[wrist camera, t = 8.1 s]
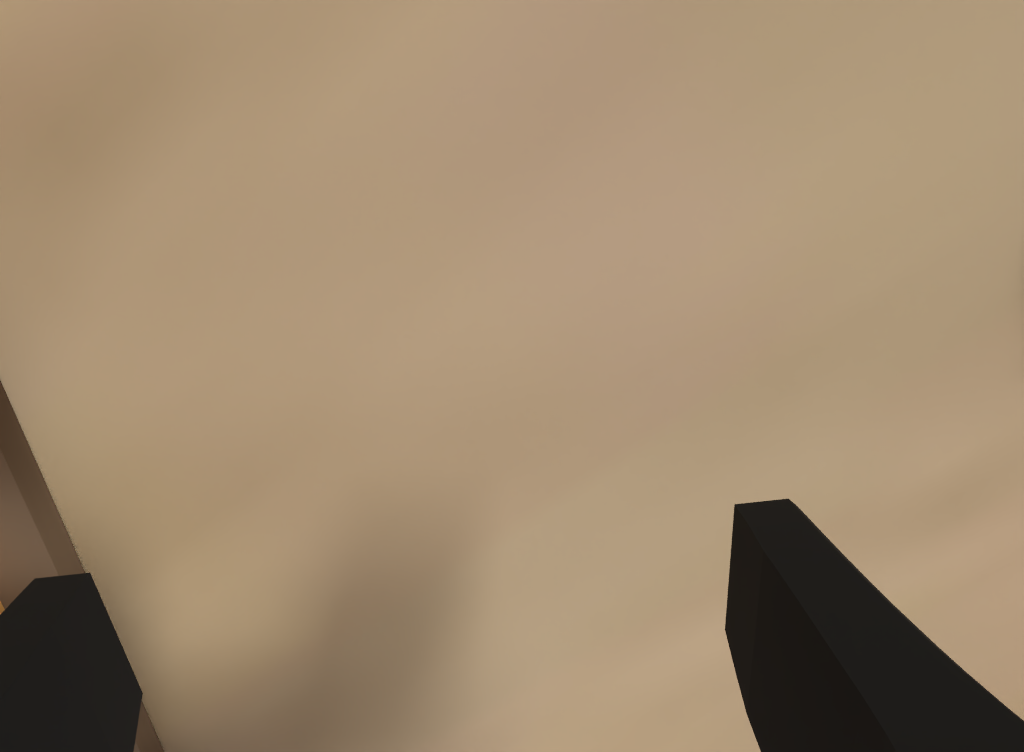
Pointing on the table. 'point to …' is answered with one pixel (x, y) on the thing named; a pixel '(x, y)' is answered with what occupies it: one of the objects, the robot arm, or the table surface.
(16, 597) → the robot arm
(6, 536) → the walnut board
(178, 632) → the table surface
